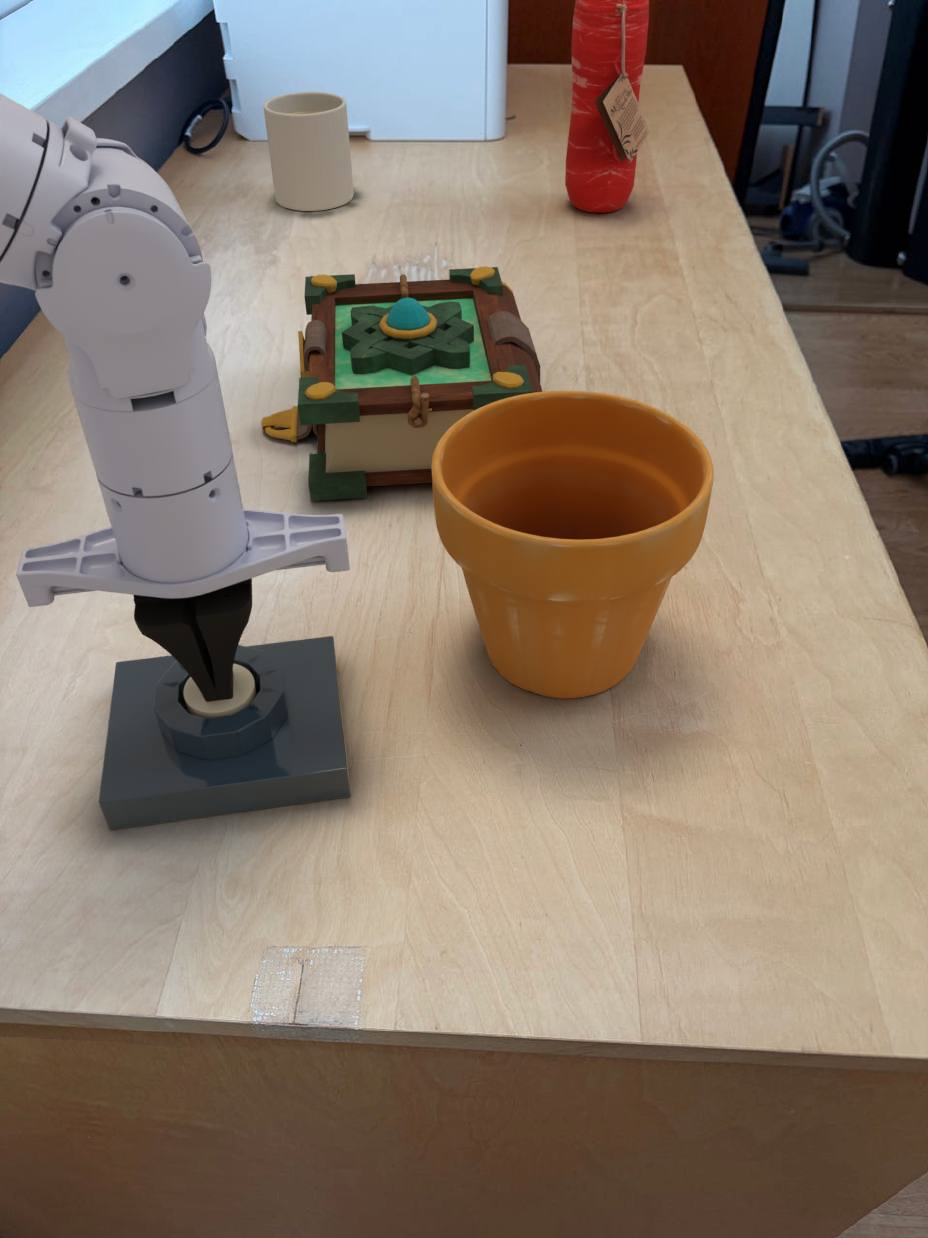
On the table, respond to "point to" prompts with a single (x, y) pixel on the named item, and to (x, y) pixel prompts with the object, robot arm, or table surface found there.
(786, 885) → the table surface
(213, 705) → the cream cylinder puck
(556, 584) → the flower pot
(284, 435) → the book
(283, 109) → the mug
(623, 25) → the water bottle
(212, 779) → the push button base
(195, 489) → the robot arm
